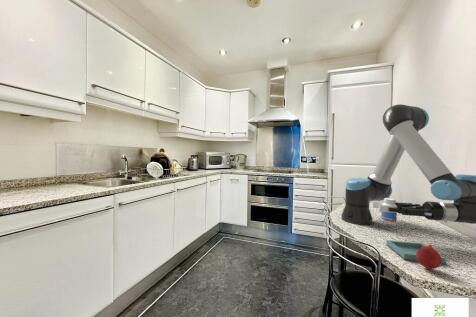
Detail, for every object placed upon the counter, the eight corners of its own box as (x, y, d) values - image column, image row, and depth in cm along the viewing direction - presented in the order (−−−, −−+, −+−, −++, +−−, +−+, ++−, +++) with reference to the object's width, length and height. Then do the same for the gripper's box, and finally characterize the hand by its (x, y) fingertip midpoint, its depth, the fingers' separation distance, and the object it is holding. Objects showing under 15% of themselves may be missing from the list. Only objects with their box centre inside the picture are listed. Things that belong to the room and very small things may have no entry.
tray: (386, 245, 82) (386, 240, 82) (421, 248, 80) (421, 243, 80) (404, 260, 70) (404, 253, 70) (445, 264, 68) (445, 258, 68)
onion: (432, 275, 61) (433, 249, 61) (411, 265, 67) (412, 241, 66) (445, 273, 63) (446, 247, 62) (424, 263, 68) (425, 239, 68)
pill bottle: (396, 224, 85) (397, 201, 85) (380, 221, 88) (382, 198, 88) (396, 221, 89) (397, 198, 89) (381, 218, 93) (382, 196, 92)
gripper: (456, 228, 76) (385, 221, 81) (422, 213, 94) (366, 209, 99) (457, 208, 76) (386, 202, 81) (423, 197, 94) (367, 193, 99)
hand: (375, 206), depth 90 cm, fingers closed on pill bottle, 5 cm apart
